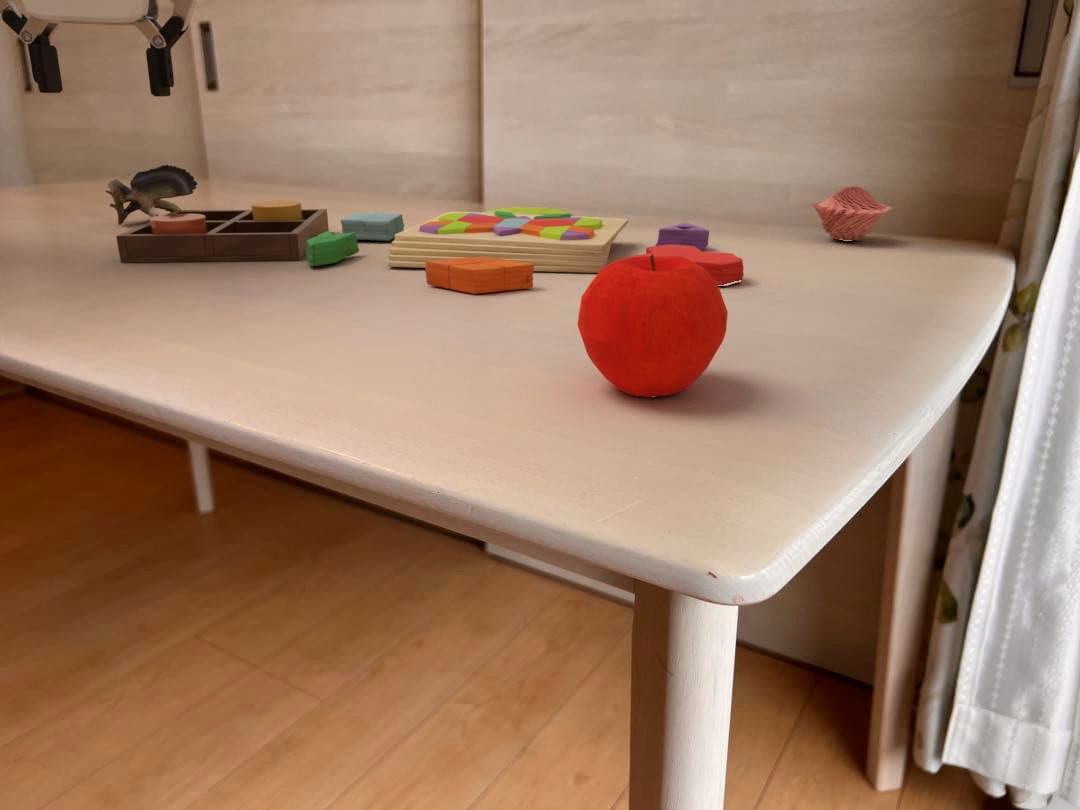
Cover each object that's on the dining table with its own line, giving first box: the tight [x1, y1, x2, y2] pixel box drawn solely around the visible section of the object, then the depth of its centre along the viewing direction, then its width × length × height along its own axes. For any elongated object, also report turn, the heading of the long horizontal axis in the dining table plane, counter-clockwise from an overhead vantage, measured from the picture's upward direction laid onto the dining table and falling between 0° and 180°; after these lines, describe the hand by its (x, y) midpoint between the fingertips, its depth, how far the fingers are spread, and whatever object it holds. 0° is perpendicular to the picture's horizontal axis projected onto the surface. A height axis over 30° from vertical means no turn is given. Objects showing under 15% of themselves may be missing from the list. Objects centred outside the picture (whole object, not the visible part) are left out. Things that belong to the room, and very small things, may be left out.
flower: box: [810, 186, 894, 241], centre depth 89 cm, size 8×8×6 cm
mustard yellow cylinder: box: [251, 199, 303, 220], centre depth 91 cm, size 5×5×3 cm
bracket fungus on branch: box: [105, 164, 199, 226], centre depth 101 cm, size 8×7×9 cm
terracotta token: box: [149, 213, 208, 234], centre depth 83 cm, size 5×5×3 cm
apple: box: [577, 254, 729, 398], centre depth 46 cm, size 8×8×7 cm
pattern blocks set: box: [306, 206, 745, 295], centre depth 83 cm, size 38×34×3 cm
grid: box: [115, 208, 330, 264], centre depth 87 cm, size 16×16×2 cm
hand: (106, 94), depth 78 cm, fingers open, 9 cm apart
